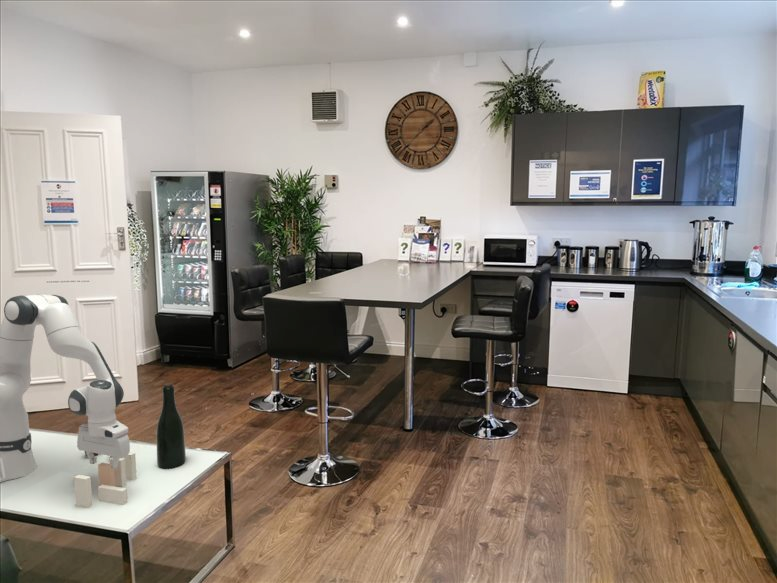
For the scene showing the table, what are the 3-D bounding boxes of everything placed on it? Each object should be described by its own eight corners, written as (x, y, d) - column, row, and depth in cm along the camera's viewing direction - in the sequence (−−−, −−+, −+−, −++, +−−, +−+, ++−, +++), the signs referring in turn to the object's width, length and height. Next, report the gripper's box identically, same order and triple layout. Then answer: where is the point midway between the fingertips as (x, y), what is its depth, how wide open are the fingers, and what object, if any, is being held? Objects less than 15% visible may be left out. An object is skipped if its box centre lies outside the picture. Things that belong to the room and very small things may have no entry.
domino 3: (110, 493, 204) (109, 466, 202) (99, 491, 205) (97, 464, 204) (115, 491, 206) (113, 464, 204) (104, 489, 207) (102, 462, 206)
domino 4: (99, 501, 199) (123, 505, 196) (98, 487, 198) (122, 491, 195) (103, 498, 201) (127, 502, 198) (102, 484, 200) (126, 488, 197)
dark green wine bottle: (176, 472, 221) (173, 388, 216) (151, 470, 223) (147, 386, 218) (191, 461, 231) (187, 380, 227) (166, 459, 233) (163, 379, 229)
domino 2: (122, 487, 209) (120, 460, 207) (111, 485, 210) (109, 458, 209) (126, 484, 210) (124, 458, 209) (115, 482, 212) (113, 456, 211)
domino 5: (132, 481, 213) (131, 455, 212) (121, 479, 215) (120, 453, 214) (136, 478, 215) (135, 453, 214) (125, 476, 217) (124, 451, 216)
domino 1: (87, 507, 194) (85, 479, 193) (75, 505, 195) (73, 477, 194) (92, 504, 196) (90, 476, 194) (80, 502, 197) (78, 474, 196)
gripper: (71, 426, 202) (73, 464, 204) (118, 434, 196) (119, 473, 197) (86, 420, 208) (87, 457, 210) (132, 428, 202) (133, 466, 203)
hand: (103, 465), depth 204 cm, fingers open, 8 cm apart
